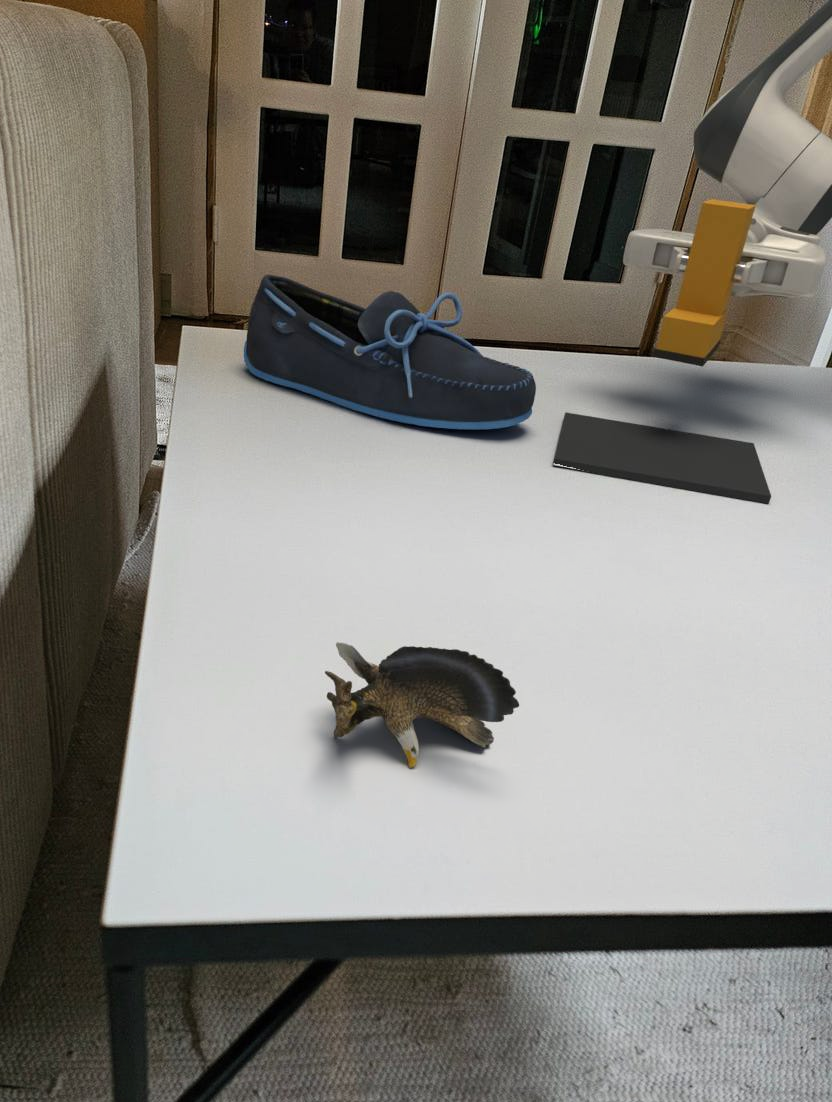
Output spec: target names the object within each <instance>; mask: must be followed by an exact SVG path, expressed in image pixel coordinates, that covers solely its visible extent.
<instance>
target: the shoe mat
mask: <svg viewBox="0 0 832 1102" xmlns="http://www.w3.org/2000/svg"><path fill="white" fill-rule="evenodd" d="M553 463H555V464H560V465H563V466H567V467H573V468H576V469H580V470H584V471H589V472H593V473H592V474H595V473H598V474H597V475H601V474H602V475H601V476H606V475H607V476H608V477H611V478H612V477H613V478H618V479H624V480H630V481H634V482H635V481H636V482H642V483H648V484H652V485H658V486H663V487H669V488H670V487H671V488H675V489H682V490H687V491H692V492H699V493H703V494H704V493H705V494H711V495H715V496H722V497H727V498H731V499H732V498H733V499H739V500H744V501H750V502H756V503H762V504H767V505H768V504H770V501H771V499H772V493H771V491H770V489H769V485H768V482H767V479H766V476H765V473H764V470H763V467H762V464H761V461H760V457H759V455H758V453H757V449H756V446H755V443H754V442H750V441H749V442H748V441H742V440H738V439H729V438H725V437H719V436H718V437H717V436H713V435H706V434H700V433H693V432H689V431H682V430H676V429H670V428H663V427H658V426H652V425H645V424H640V423H634V422H633V423H632V422H627V421H621V420H614V419H608V418H603V417H597V416H591V415H584V414H579V413H571V412H566V411H565V412H564V416H563V419H562V424H561V428H560V431H559V437H558V441H557V445H556V449H555V453H554V458H553V462H552V464H553ZM589 472H588V473H589Z"/></svg>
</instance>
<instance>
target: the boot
mask: <svg viewBox="0 0 832 1102" xmlns="http://www.w3.org/2000/svg"><path fill="white" fill-rule="evenodd" d="M755 206H756V205H750V204H747V203H744V202H743V203H741V202H735V201H729V200H721V199H720V200H719V199H713V198H711V199H709V200H706V201H703V202H702V203H701V206H700V211H699V215H698V218H697V221H696V226H695V229H694V233H693V234H694V238H693V242H692V245H691V249H690V253H689V257H688V261H687V265H686V269H685V273H684V276H682V282H681V285H680V288H679V289H680V290H679V293H678V297H677V301H676V305H675V307H674V308H673V309H671V310H670V311H668V312H667V313H666V314H665V315H663V319H662V322H661V327H660V331H659V334H658V339H657V343H656V347H655V348H654V349H653V353H652V357H653V358H656V359H661V360H667V361H672V362H678V363H683V364H688V365H693V366H698V367H704V366H705V365H706V363H707V362H708V361H709V360H710V359H711V357H713V355H714V354H715V353H716V352H717V350H718V349H719V347H720V345H721V341H722V340H721V337H722V334H723V330H724V327H725V323H726V318H727V316H728V313H729V308H728V305H729V301H730V298H731V297H730V295H731V291H732V288H733V284H734V282H731V279H732V275H733V274H734V268H735V265H736V263H737V262H740V259H741V256H742V252H743V249H744V245H745V242H746V238H747V234H748V231H749V227H750V224H751V220H752V217H753V213H754V210H755Z"/></svg>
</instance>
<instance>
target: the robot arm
mask: <svg viewBox="0 0 832 1102" xmlns="http://www.w3.org/2000/svg"><path fill="white" fill-rule="evenodd" d="M831 51H832V0H827V1H826V2H825V3H824V4H823V5H822V6H821V7H820V8H819V9H817V10H816V11H815V12H814V13H813V15H811V16H810V17H809V18H808V19H807V20H806V21H805V22H803V24H802V25H800V27H798V29H796V30H795V31H794V32H793V33H792V34H791V35H790V36H788V38H786V39H785V41H783V43H782V44H781V45H780V46H778V47H777V48H776V49H775V50H774V51H773V52H772V53H771V54H770V55H769V56H768V57H766V58H765V59H764V60H763V61H762V62H761V63H760V64H759V65H758V66H757V67H755V68H754V69H753V70H752V71H751V72H750V73H748V74H747V75H746V76H745V77H744V78H743V79H742V80H740V81H739V82H738V83H737V84H736V85H734V86H733V87H731V88H730V89H729V90H727V91H725V93H723V94H722V95H721V96H719V98H717V99H716V100H715V101H714V102H713V103H712V105H711V106H710V107H709V108H708V109H707V111H705V113H704V115H703V116H702V117H701V119H700V120H699V123H698V124H697V127H696V128H695V130H694V131H693V152H694V160H695V163H696V166H697V169H698V170H700V171H701V172H703V173H704V174H706V175H708V176H709V177H710V178H712V179H714V180H715V181H716V182H718V183H720V184H723V185H724V186H726V187H727V188H728V189H729V190H730V191H731V192H733V193H734V194H735V195H736V196H737V197H738V198H740V199H741V200H743V201H744V202H745V204H750V205H756V206H755V210H754V213H753V217H752V220H751V224H750V227H749V231H748V234H747V238H746V242H745V245H744V249H743V252H742V256H741V259H740V262H737V263H736V265H735V268H734V274H733V275H732V279H731V282H734V284H733V288H732V291H731V295H730V298H733V297H751V296H764V297H779V298H785V299H787V298H792V299H798V298H800V297H804V298H812V297H814V296H815V295H816V293H817V291H818V288H819V285H820V282H821V279H822V276H823V272H824V270H825V266H826V264H827V263H826V262H827V254H826V251H825V249H824V248H823V247H821V246H820V240H821V238H820V236H818V234H819V233H821V231H822V230H823V229H824V227H826V225H827V224H828V223H829V222H830V221H831V219H832V138H831V137H829V136H828V135H827V134H826V133H825V132H822V131H821V130H820V129H818V128H817V127H815V126H814V125H813V124H812V123H810V121H808V120H807V119H806V118H805V117H804V116H802V115H801V114H800V113H799V112H797V111H796V110H795V109H794V108H792V106H790V105H789V104H788V103H787V101H786V98H785V96H786V93H787V91H788V90H789V89H790V88H792V87H793V86H794V85H795V84H796V83H797V82H798V81H800V80H801V78H803V76H805V75H806V74H807V73H808V72H809V71H810V70H811V69H812V68H814V67H815V66H816V65H817V64H818V63H819V62H820V61H821V60H822V59H824V58H825V56H827V54H829V53H830V52H831ZM694 234H695V233H691V232H685V231H678V230H671V229H665V228H664V229H663V228H641V229H635V230H632V231H630V232H629V234H628V236H627V240H626V243H625V247H624V252H623V258H622V263H623V265H624V266H626V267H627V268H631V269H636V270H643V271H650V272H655V273H661V274H667V275H672V276H673V275H675V276H678V277H679V276H680V277H684V273H685V269H686V265H687V261H688V257H689V253H690V249H691V245H692V242H693V238H694Z"/></svg>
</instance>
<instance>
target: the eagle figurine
mask: <svg viewBox="0 0 832 1102" xmlns="http://www.w3.org/2000/svg"><path fill="white" fill-rule="evenodd" d="M335 647H336V649H337V652H338V655H339V657H340V658H341V659H343V661H344V662H345V663H346V664H347V666H348V667H349V668H350V669H351V671H352V672H353V673H354V674H355V675H356V676H358V678H361V679H363V680H365V682H366V683H367V685H366V686H364V687H362V688H361V689H358V690H356V691H353V692H352V688H353V682H352V681H351V680H348V681H346V680H345V679H343V678H341V677H340V676H338V675H336V674H335V673H334V672H332V671H328V670H325V671H324V674H325V676H327V677H328V678H330V679H331V680H332V681H333V683H334V690H335V693H333V692H331V691H328V692H327V694H326V699H327V700H328V701H329V702H331V706H332V708H333V710H334V713H335V721H336V722H335V723H336V724H335V727H334V730H333V734H332V735H333V738H335V739H338V738H343V737H345V736H347V735H349V734H350V733H351V732H353V731H354V729H356V727H357V726H359V725H360V724H362V723H363V722H365V721H368V720H371V719H373V718H379V717H380V718H382V720H383V722H384V723H385V725H386V727H387V729H389V731H390V732H391V734H392V735H393V736H394V737H395V738H396V740H397V742H398V743H399V744H400V746H401V748H402V750H403V752H404V754H405V756H406V758H407V762H408V768H414V767H415V766H416V763H417V759H418V756H419V750H420V749H419V748H420V747H419V741H418V737H417V734H416V731H415V727H414V723H413V720H417V719H422V718H423V719H429V720H432V721H434V722H437V723H438V724H441V725H443V726H445V727H447V728H448V729H451V730H454V731H456V733H458V734H460V735H461V736H463V738H466V739H467V740H469V741H470V742H472V743H473V744H475V745H477V746H479V747H480V748H482V749H485V748H486V746H491V744H492V742H493V741H494V740H495V737H494V736H493V731H492V730H491V729H490V728H488V727H486V723H485V722H487V723H501V722H504V720H505V716H510V715H513V714H514V709H517V708H520V702H519V701H518V699H517V698H516V697H515V695H516V694H517V691H516V690H515V689H516V688H514V687H513V686H512V685H511V681H510V680H509V678H507V677H506V676H504V671H502V669H499V668H496V667H495V666H494V665H493V664H492V663H490V662H487V661H486V660H485V658H481V657H478V655H476V654H470V652H469V651H465V650H460V649H456V648H454V649H453V648H452V649H448V648H439V647H432V646H428V647H423V646H415V645H413V646H412V645H410V646H401V647H399V648H398V649H397V650H395V651H393V652H391V654H389V655H386V657H385V658H384V659H381V661H380V663H378V665H376V664H375V663H373V662H370V661H368V660H366V659H365V658H364V657H363V655H362V654H361V653H360V652H359V651H358V649H357V648H356V647H354V646H353V645H351V644H348V643H346V642H336V643H335Z"/></svg>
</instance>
